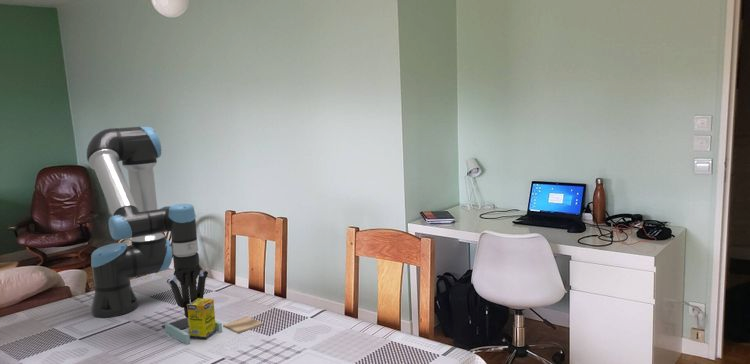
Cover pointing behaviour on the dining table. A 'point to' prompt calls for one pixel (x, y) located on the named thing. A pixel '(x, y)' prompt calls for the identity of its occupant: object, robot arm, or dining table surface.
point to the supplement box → (201, 318)
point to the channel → (183, 335)
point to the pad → (242, 324)
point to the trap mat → (179, 324)
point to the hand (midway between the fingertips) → (192, 325)
